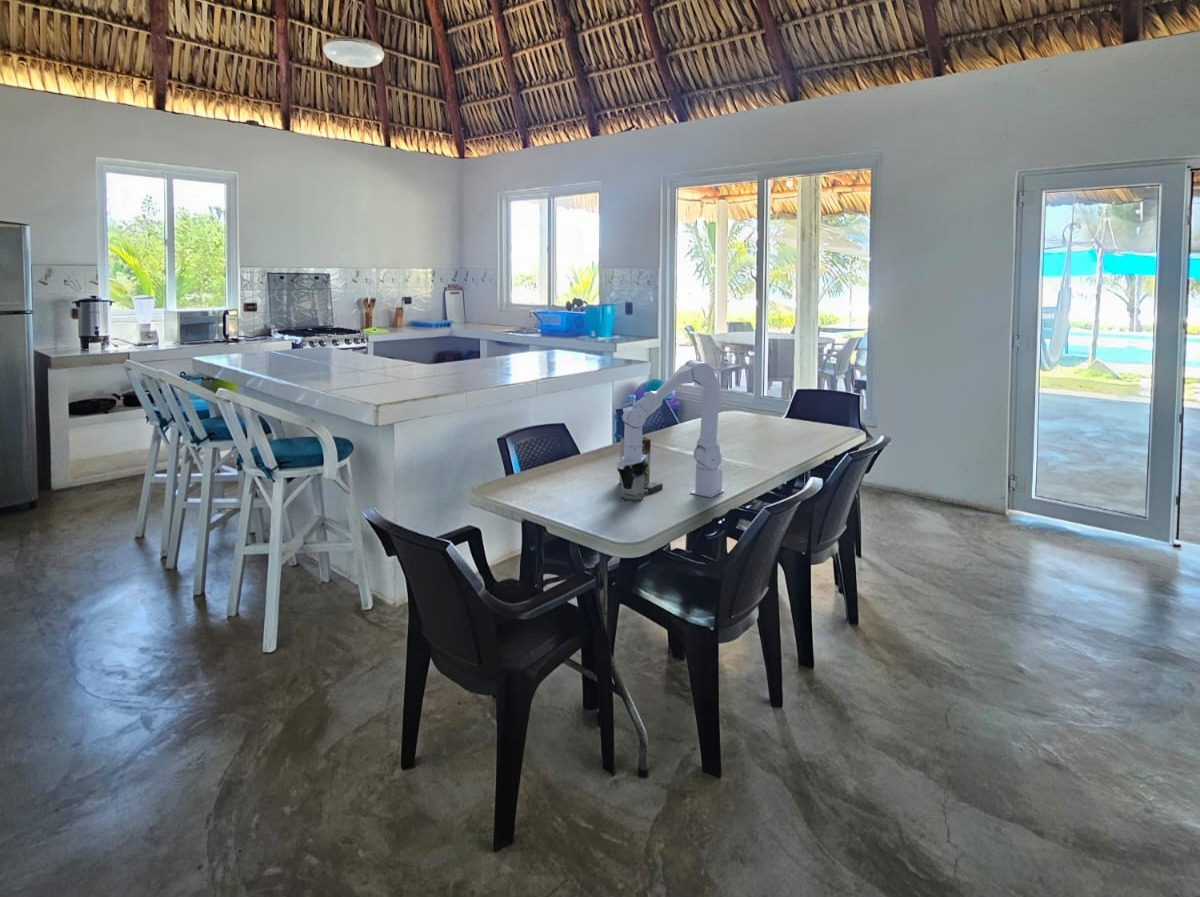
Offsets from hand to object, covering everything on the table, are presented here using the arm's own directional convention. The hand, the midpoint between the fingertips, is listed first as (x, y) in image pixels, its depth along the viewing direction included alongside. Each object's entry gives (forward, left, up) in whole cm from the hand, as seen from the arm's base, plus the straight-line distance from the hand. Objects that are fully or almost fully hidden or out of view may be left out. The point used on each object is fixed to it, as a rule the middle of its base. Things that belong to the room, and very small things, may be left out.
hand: (632, 486), depth 250 cm
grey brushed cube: (0, 0, -2) cm, 2 cm away
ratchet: (-6, 0, -4) cm, 7 cm away
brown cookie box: (-15, -9, -4) cm, 18 cm away
